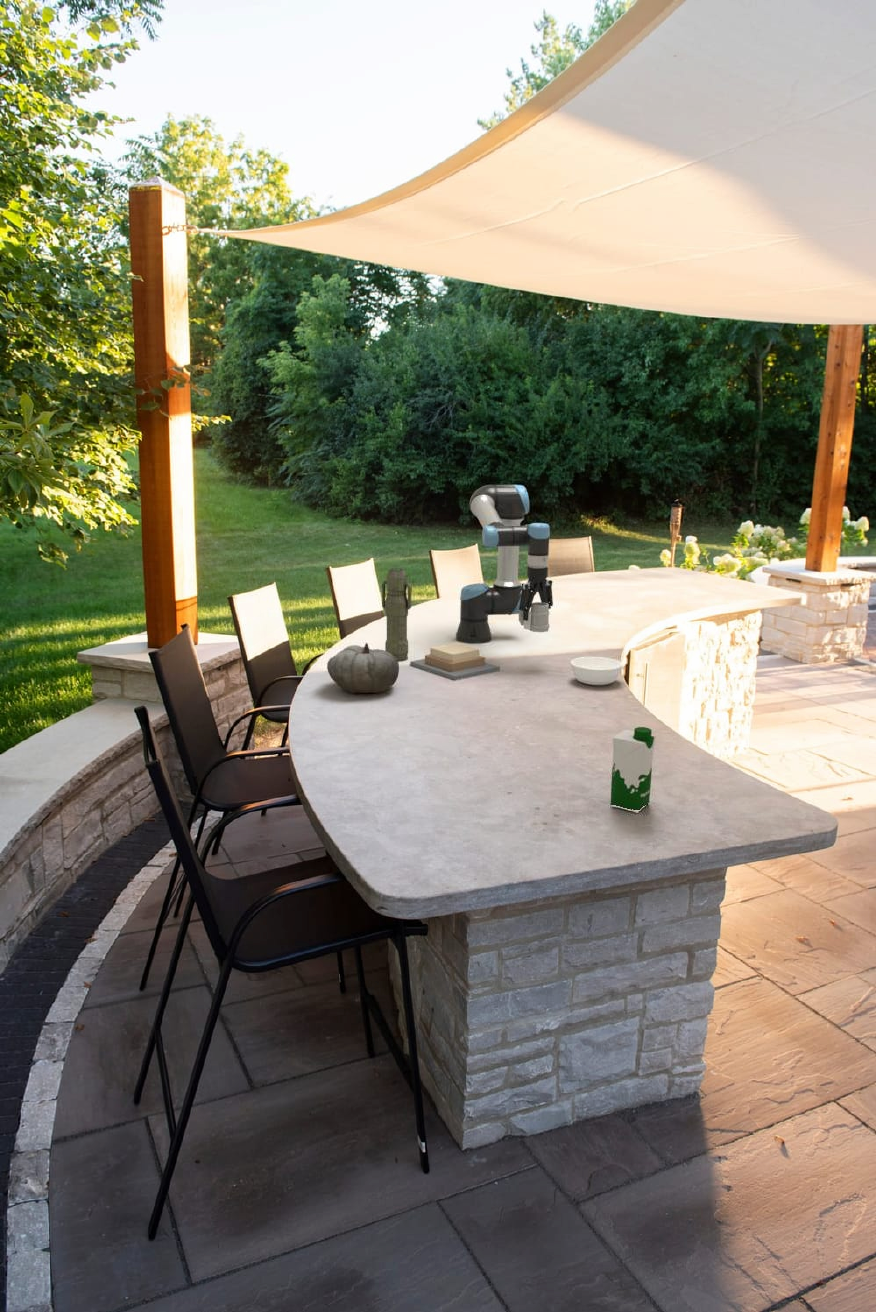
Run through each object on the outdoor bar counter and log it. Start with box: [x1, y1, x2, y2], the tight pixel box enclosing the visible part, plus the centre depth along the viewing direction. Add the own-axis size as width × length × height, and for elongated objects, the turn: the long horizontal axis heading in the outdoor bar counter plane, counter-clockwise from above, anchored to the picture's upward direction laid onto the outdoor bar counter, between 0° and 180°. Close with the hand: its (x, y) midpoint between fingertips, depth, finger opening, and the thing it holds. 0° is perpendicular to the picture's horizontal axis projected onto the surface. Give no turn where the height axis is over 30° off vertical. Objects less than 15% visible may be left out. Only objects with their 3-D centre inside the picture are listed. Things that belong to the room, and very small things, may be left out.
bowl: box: [570, 656, 623, 686], centre depth 335 cm, size 18×18×7 cm
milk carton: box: [610, 726, 656, 810], centre depth 227 cm, size 9×9×20 cm
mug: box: [518, 601, 550, 633], centre depth 346 cm, size 8×12×12 cm, turn 71°
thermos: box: [381, 568, 413, 663], centre depth 361 cm, size 9×12×35 cm
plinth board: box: [409, 642, 501, 681], centre depth 352 cm, size 26×22×8 cm
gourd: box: [326, 642, 400, 694], centre depth 323 cm, size 25×25×17 cm
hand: (535, 627), depth 348 cm, fingers closed on mug, 8 cm apart
